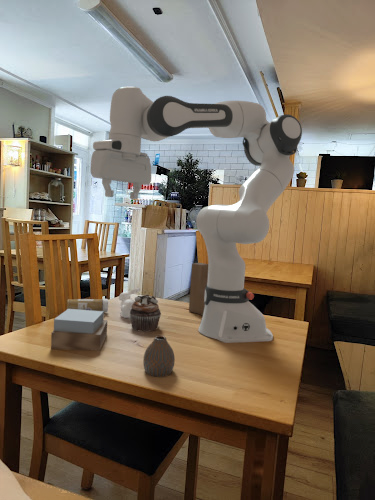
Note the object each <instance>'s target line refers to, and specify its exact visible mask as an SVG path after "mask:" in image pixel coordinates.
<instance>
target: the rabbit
mask: <svg viewBox="0 0 375 500" xmlns="http://www.w3.org/2000/svg"><path fill="white" fill-rule="evenodd" d="M140 290H141V288H140V287H136V288H133V289H131V290H130V291H124V292H121V293H120V294H119V295H118V299H119V301H121V302H120V313H119V314H120V317H121V318H124V319H130V320H131V317H130V311H131V309H132V304H133V303H134V302H135V299H132V297H131V295H133V294H137V293H139V292H140Z"/></svg>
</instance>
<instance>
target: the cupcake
mask: <svg viewBox="0 0 375 500" xmlns="http://www.w3.org/2000/svg"><path fill="white" fill-rule="evenodd" d="M134 301H135V302H134V303H133V304H132V309H131V311H130V317H131V319H130V322H131V329H132V330H134V331H139V332H152V331H153V332H154V331H155V330H157V329H158V326H159V323H160V318H161V315H162V313H161V309H160V306H159V304H158V303H159V300H158V299H157V297H156V296H153V295H152V296H150V295H149V294H144V295H137V296H135V297H134Z"/></svg>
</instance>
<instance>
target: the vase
mask: <svg viewBox="0 0 375 500" xmlns="http://www.w3.org/2000/svg"><path fill="white" fill-rule="evenodd" d="M175 361H176V360H175V352H174V349H173V348H172V347H171V345H170V344H169V342H168V340H167V337H165V336H164V335H157V336H155V337H154V338H153V340H152V341H151V343H150V344H149V345H148V347H146V350H145V352H144V354H143V363H142V364H143V368H144V371H145V373H146V374H147V375H149V376H152V377H158V378H159V377H161V378H162V377H166V376H170V375H171V373H172V372H173V370H174V367H175Z"/></svg>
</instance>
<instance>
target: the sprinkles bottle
mask: <svg viewBox="0 0 375 500" xmlns="http://www.w3.org/2000/svg"><path fill="white" fill-rule="evenodd" d="M66 303H67V304H66V310H67V309H78V310H91V311H104V313H108V312H109V299H108V298H101V299H100V298H99V299H98V298H97V299H96V298H95V299H93V298H91V299H90V298H81V299H80V298H78V299H70V298H68V299H67V301H66Z"/></svg>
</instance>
